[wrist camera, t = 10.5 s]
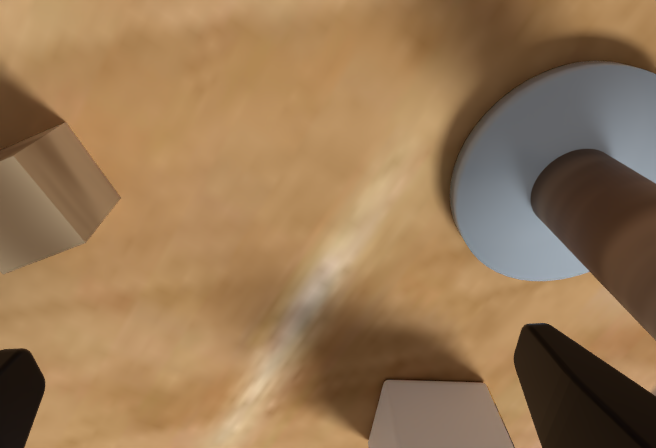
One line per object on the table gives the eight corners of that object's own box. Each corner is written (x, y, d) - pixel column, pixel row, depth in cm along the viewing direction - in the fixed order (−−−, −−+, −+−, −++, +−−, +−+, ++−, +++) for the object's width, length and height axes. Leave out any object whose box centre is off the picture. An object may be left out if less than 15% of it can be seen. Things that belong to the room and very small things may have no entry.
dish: (437, 272, 24) (443, 285, 23) (467, 64, 18) (477, 69, 17) (630, 263, 24) (644, 276, 23) (718, 57, 18) (743, 62, 17)
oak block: (51, 224, 21) (3, 274, 18) (-9, 154, 19) (-78, 194, 16) (121, 196, 20) (85, 242, 17) (66, 121, 18) (12, 155, 15)
